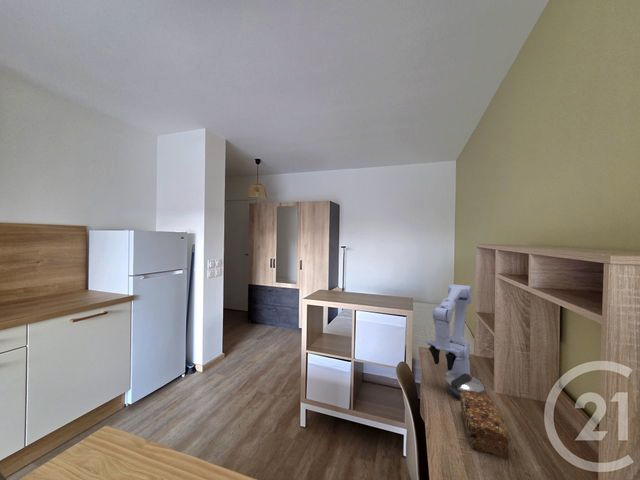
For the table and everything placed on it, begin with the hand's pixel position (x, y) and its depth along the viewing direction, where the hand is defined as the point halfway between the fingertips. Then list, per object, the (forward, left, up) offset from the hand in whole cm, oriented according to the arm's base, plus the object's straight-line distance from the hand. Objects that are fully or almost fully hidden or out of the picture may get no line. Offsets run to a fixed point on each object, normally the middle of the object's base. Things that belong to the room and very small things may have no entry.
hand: (443, 366), depth 107 cm
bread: (+11, +22, -11) cm, 27 cm away
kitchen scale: (-4, +7, -10) cm, 13 cm away
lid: (-5, +6, -6) cm, 10 cm away
